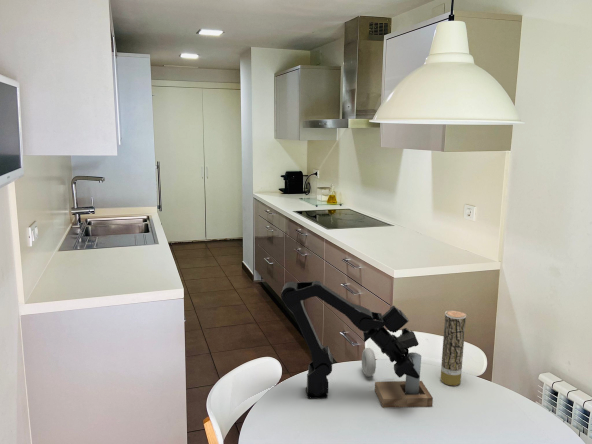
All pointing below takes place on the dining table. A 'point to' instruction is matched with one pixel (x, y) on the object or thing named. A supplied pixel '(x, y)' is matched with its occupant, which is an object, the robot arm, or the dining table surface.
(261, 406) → the dining table surface
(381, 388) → the socket block
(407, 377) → the peg
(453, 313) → the bark textured cylinder
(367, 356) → the donut
